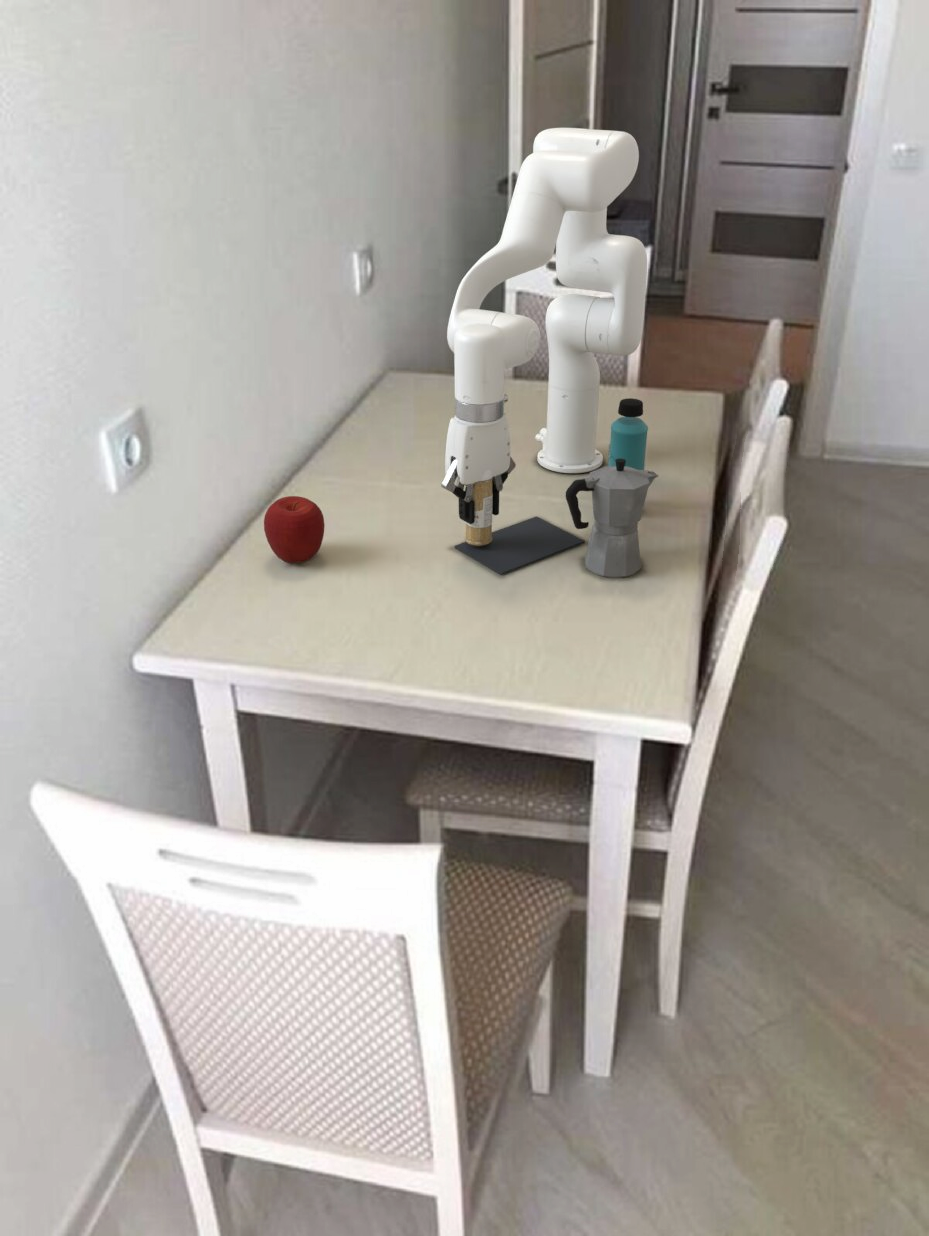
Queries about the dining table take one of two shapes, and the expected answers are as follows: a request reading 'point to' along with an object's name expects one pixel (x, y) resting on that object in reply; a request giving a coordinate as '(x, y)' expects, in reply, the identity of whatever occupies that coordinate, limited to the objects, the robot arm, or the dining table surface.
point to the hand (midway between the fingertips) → (479, 515)
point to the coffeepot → (612, 517)
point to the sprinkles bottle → (481, 512)
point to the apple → (294, 528)
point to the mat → (521, 545)
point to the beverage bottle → (629, 435)
